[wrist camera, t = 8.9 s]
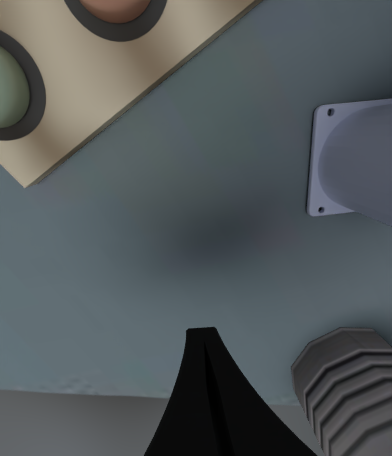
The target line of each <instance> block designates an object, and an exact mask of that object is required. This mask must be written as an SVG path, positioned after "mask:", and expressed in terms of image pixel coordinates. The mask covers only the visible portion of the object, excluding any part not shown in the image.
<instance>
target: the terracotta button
mask: <svg viewBox="0 0 392 456" xmlns="http://www.w3.org/2000/svg"><path fill="white" fill-rule="evenodd" d="M79 1H80V2H81V4H82V5H83V6H84V7H85V8H86V9H87V10H88V11H89V12H90V13H91V14H93V15H94V16H96V17H97V18H99V19H101V20H103V21H106V22H109V23H126V22H129V21H132V20H133V19H135V18H137V17H138V16H139V15H141V14H142V13H143V12H144V10H145V9H146V8H147V6H148V4H149V3H150V1H151V0H79Z"/></svg>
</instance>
